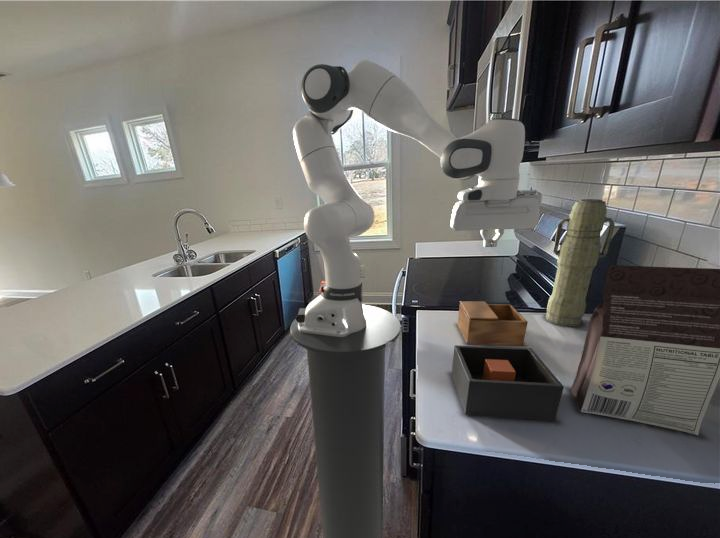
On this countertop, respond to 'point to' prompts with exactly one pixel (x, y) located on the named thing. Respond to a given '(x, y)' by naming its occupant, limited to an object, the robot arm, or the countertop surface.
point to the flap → (478, 310)
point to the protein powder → (653, 347)
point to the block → (498, 370)
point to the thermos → (577, 260)
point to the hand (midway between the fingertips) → (489, 246)
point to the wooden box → (494, 327)
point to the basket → (506, 384)
